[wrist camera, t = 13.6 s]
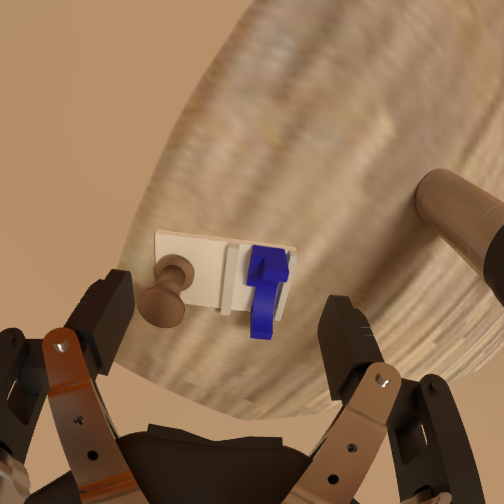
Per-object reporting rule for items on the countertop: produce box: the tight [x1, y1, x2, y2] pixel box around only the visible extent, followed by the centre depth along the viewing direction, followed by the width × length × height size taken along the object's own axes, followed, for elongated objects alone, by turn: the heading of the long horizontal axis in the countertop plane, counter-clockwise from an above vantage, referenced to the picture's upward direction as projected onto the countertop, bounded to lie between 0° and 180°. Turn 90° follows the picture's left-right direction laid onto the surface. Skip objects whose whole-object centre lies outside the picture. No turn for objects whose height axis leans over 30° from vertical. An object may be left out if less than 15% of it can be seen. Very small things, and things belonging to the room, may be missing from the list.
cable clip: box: [246, 245, 289, 340], centre depth 41 cm, size 12×4×6 cm, turn 171°
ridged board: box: [155, 230, 298, 321], centre depth 43 cm, size 20×12×3 cm, turn 82°
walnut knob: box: [138, 254, 195, 328], centre depth 39 cm, size 6×6×9 cm
